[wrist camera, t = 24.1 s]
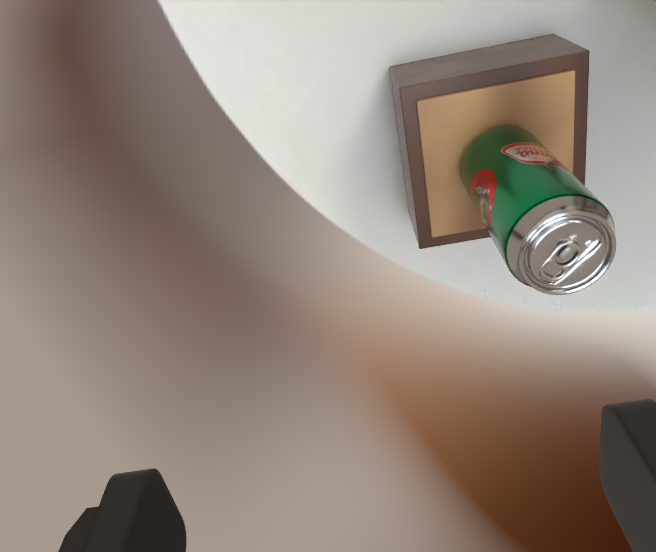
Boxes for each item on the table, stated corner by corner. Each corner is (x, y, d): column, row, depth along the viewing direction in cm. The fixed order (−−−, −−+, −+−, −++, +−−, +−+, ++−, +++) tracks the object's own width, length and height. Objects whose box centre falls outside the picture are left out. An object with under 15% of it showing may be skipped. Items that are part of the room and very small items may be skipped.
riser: (408, 212, 46) (420, 251, 40) (388, 66, 40) (399, 89, 35) (553, 186, 45) (585, 223, 39) (554, 33, 39) (592, 51, 34)
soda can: (556, 146, 36) (649, 235, 26) (506, 212, 39) (573, 318, 28) (490, 107, 35) (560, 183, 25) (442, 177, 37) (488, 274, 27)
